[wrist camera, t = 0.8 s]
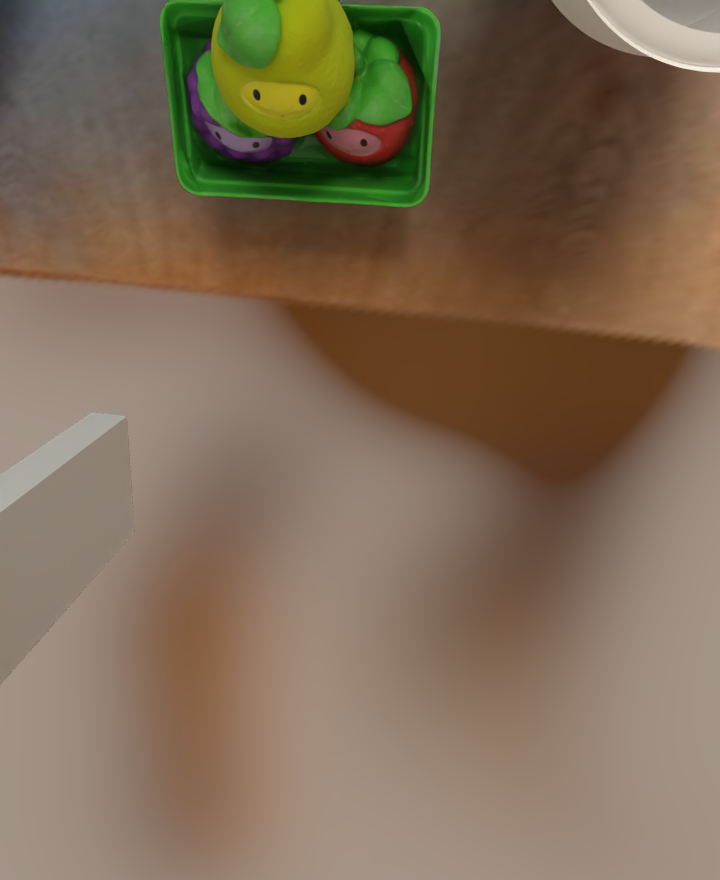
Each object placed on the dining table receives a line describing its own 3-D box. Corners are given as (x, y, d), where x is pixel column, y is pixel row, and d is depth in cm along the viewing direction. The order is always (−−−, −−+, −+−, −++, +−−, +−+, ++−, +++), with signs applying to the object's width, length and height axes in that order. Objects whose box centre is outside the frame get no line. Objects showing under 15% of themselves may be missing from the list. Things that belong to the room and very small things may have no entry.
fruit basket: (208, 172, 36) (127, 236, 26) (189, -35, 31) (81, -48, 21) (428, 183, 35) (426, 252, 26) (444, -28, 30) (449, -38, 21)
